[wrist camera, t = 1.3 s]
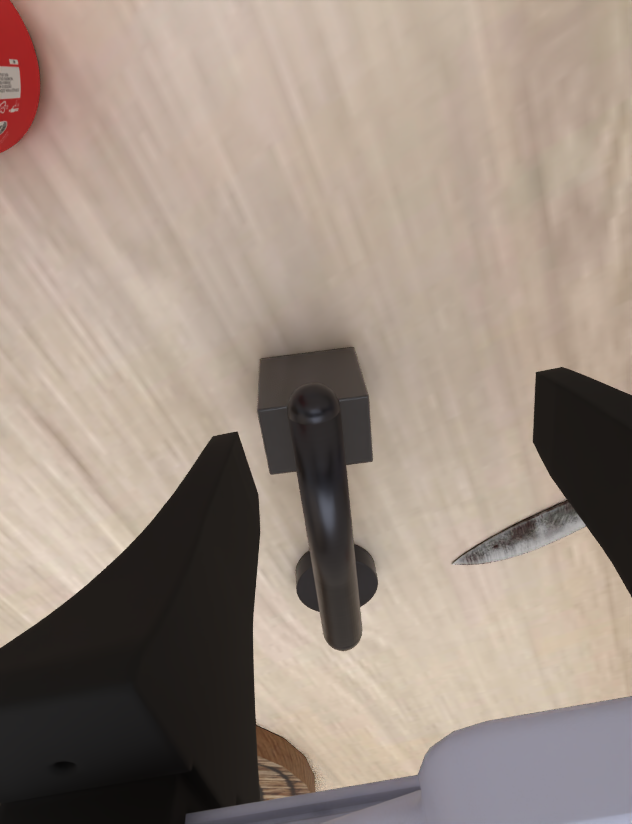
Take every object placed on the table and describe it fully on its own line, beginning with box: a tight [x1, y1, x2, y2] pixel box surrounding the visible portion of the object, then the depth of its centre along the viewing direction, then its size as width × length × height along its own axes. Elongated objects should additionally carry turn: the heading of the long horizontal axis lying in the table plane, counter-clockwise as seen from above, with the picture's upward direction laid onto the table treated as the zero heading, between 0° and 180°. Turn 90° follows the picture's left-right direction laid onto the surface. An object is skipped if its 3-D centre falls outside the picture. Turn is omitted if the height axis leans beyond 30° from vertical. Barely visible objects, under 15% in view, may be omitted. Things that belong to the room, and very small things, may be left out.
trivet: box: [256, 726, 315, 801], centre depth 41 cm, size 25×25×2 cm
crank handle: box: [287, 383, 378, 651], centre depth 23 cm, size 17×4×6 cm, turn 6°
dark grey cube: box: [257, 347, 373, 475], centre depth 21 cm, size 3×4×4 cm
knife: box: [452, 501, 586, 565], centre depth 28 cm, size 18×1×5 cm
